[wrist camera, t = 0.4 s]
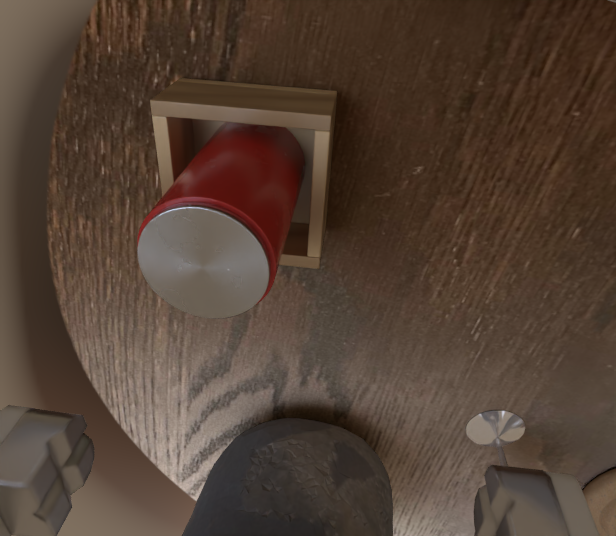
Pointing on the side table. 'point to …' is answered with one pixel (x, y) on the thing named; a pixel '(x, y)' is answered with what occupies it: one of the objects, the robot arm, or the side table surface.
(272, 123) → the holder
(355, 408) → the side table surface
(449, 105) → the side table surface
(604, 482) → the candle holder
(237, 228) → the can
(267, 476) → the dark grey metal pot
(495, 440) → the wineglass
